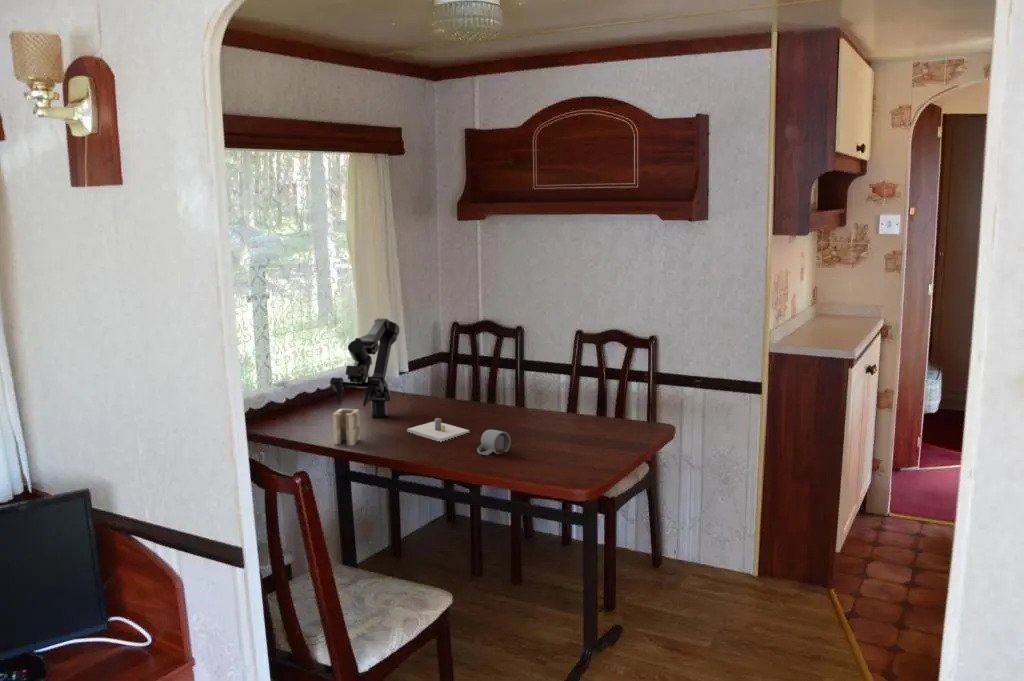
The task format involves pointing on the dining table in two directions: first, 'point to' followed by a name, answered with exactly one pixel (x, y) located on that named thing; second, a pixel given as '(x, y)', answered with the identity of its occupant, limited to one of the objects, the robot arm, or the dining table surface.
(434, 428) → the post plate
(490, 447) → the ceramic mug
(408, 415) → the dining table surface
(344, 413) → the beech collar
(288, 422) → the dining table surface
